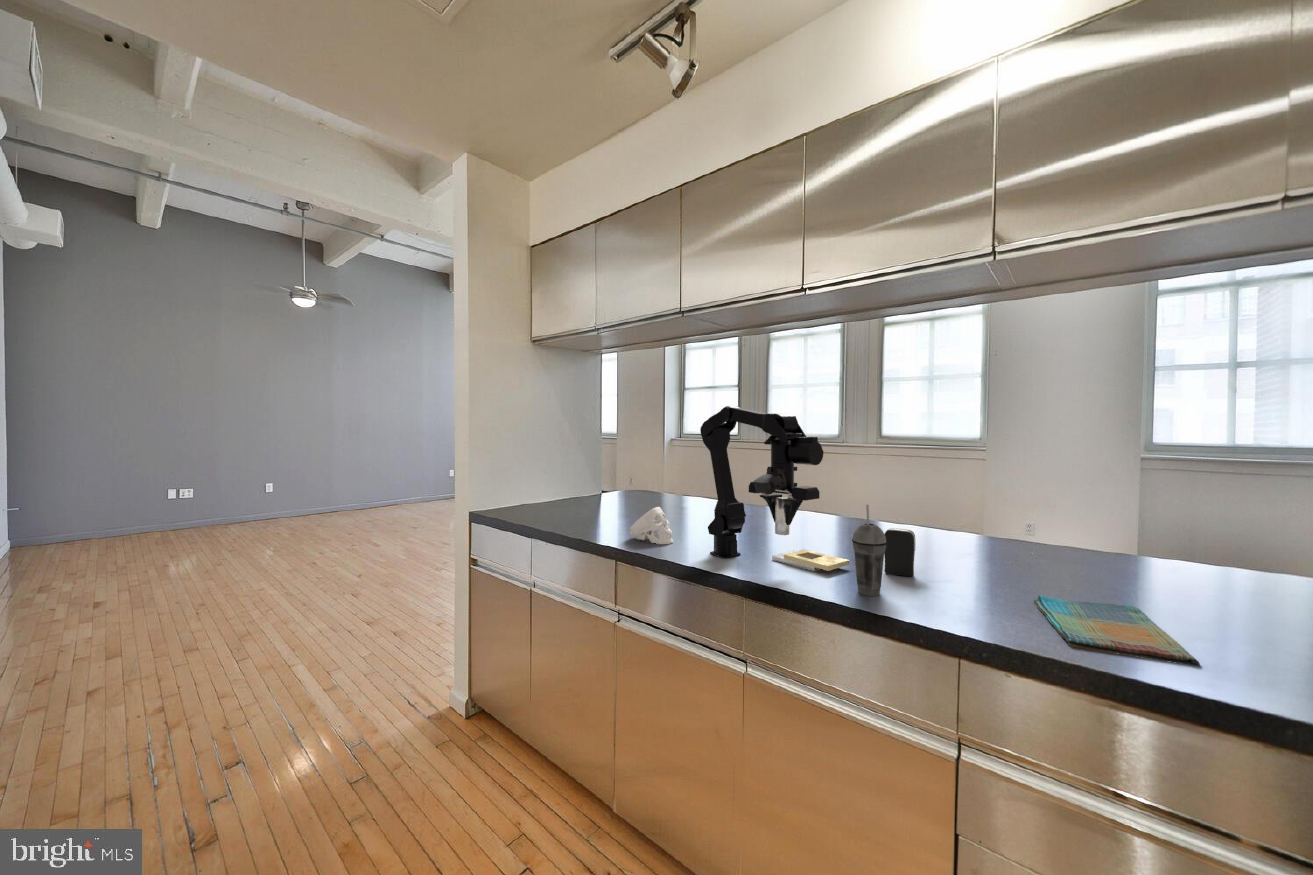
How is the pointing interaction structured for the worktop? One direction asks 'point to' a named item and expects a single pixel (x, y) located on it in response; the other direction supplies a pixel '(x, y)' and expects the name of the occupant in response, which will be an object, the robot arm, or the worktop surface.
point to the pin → (780, 517)
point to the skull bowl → (652, 527)
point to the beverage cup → (869, 557)
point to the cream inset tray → (810, 560)
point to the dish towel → (1112, 629)
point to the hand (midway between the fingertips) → (782, 523)
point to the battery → (900, 552)
